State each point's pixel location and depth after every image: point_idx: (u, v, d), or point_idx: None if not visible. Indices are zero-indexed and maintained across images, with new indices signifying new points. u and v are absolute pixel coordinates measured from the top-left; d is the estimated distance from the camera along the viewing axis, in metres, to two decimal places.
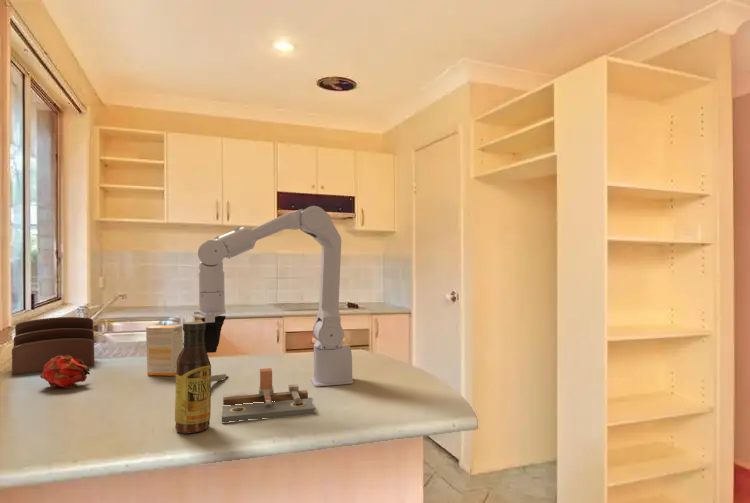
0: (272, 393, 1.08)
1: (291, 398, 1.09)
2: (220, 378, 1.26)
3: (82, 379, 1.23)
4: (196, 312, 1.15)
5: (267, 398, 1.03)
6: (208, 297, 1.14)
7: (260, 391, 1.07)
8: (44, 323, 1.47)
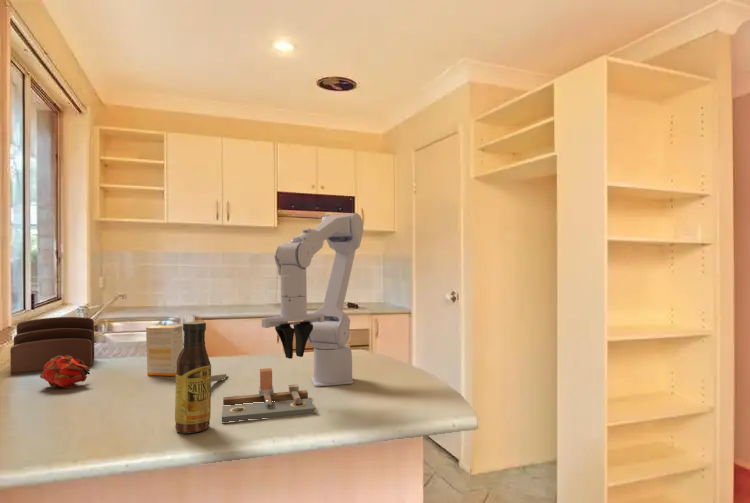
0: (272, 393, 1.08)
1: (291, 398, 1.09)
2: (220, 378, 1.26)
3: (82, 379, 1.23)
4: None
5: (267, 398, 1.03)
6: (281, 301, 1.09)
7: (260, 391, 1.07)
8: (44, 322, 1.48)
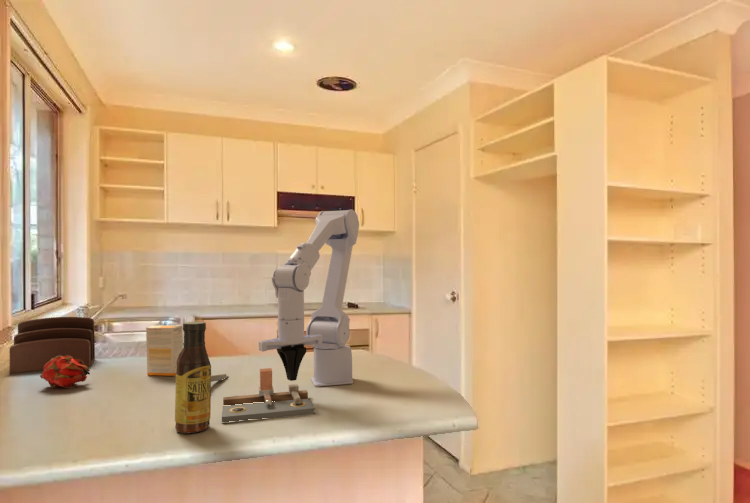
0: (272, 393, 1.08)
1: (291, 398, 1.09)
2: (220, 378, 1.27)
3: (82, 379, 1.23)
4: None
5: (267, 398, 1.03)
6: (278, 324, 1.09)
7: (260, 391, 1.07)
8: (45, 322, 1.48)
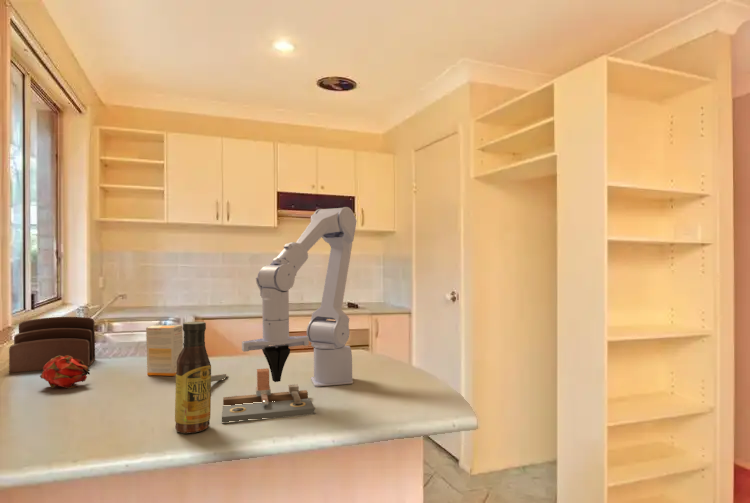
0: (269, 393, 1.08)
1: (291, 398, 1.09)
2: (220, 378, 1.27)
3: (82, 379, 1.23)
4: None
5: (264, 398, 1.03)
6: None
7: (257, 391, 1.07)
8: (46, 322, 1.49)
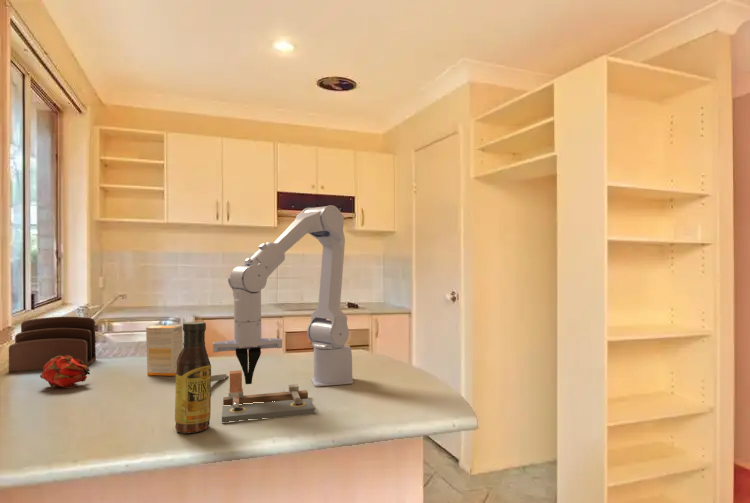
0: (242, 396, 1.06)
1: (291, 398, 1.09)
2: (220, 378, 1.27)
3: (82, 379, 1.23)
4: None
5: (235, 401, 1.01)
6: None
7: (229, 394, 1.05)
8: (47, 322, 1.50)
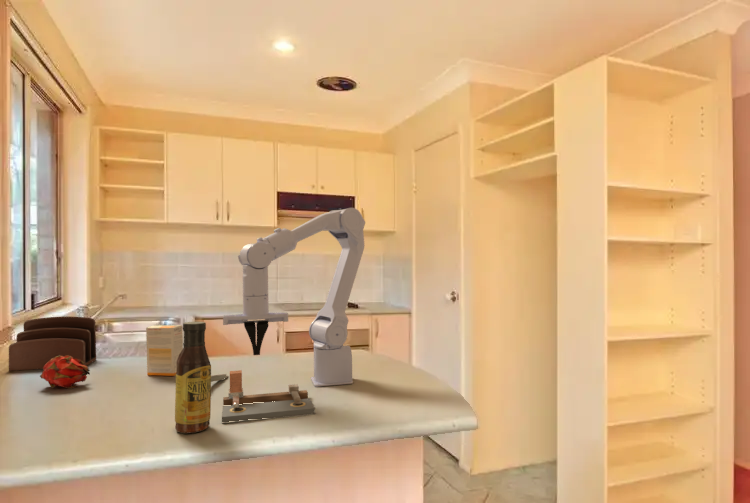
0: (242, 396, 1.06)
1: (291, 398, 1.09)
2: (220, 378, 1.27)
3: (82, 379, 1.23)
4: None
5: (235, 401, 1.01)
6: None
7: (229, 394, 1.05)
8: (49, 321, 1.50)
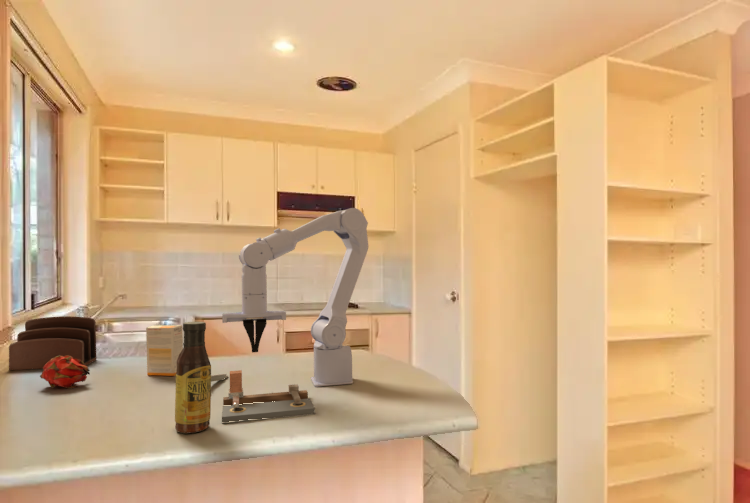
0: (242, 396, 1.06)
1: (291, 398, 1.09)
2: (220, 378, 1.27)
3: (82, 379, 1.23)
4: None
5: (235, 401, 1.01)
6: None
7: (229, 394, 1.05)
8: (50, 321, 1.51)
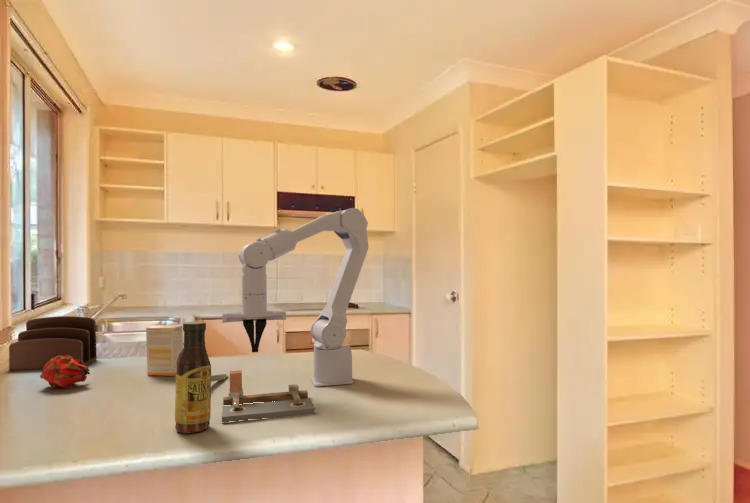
0: (242, 396, 1.06)
1: (291, 398, 1.09)
2: (220, 378, 1.27)
3: (82, 379, 1.23)
4: None
5: (235, 401, 1.01)
6: None
7: (229, 394, 1.05)
8: (50, 321, 1.51)
